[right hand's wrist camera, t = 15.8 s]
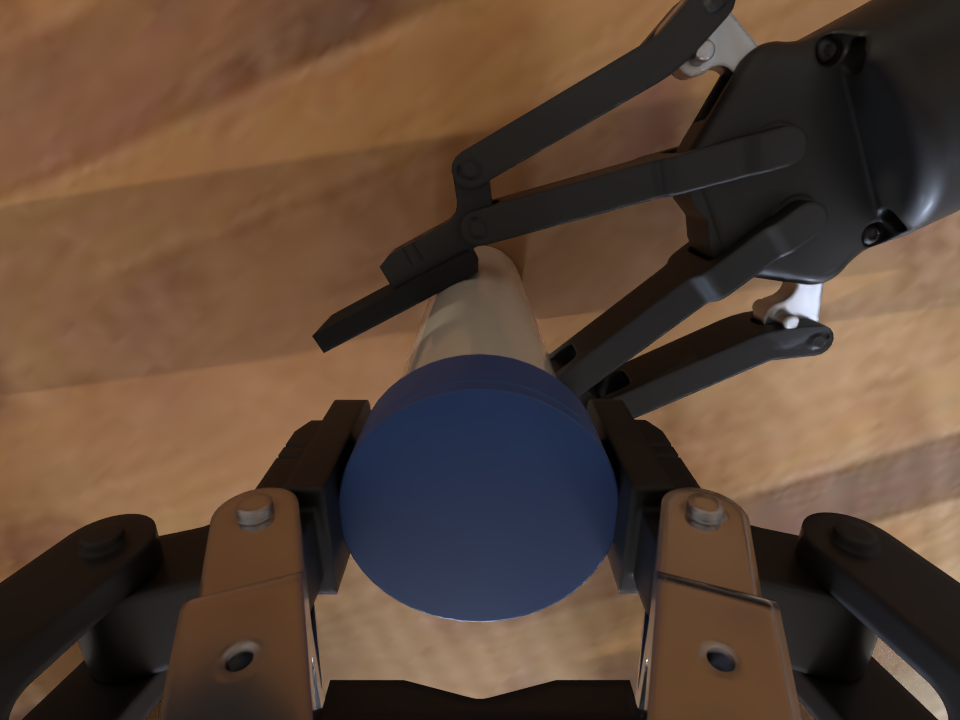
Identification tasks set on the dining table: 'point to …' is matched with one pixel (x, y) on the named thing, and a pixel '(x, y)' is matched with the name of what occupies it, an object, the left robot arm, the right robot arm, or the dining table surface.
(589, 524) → the lid
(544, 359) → the beige cylindrical rod
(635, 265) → the dining table surface
